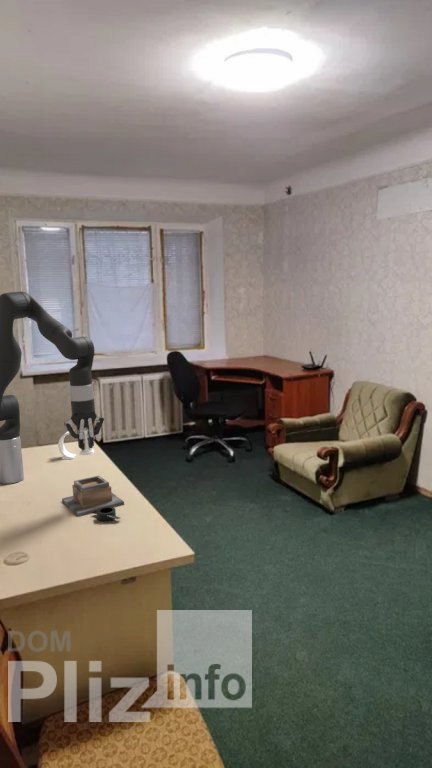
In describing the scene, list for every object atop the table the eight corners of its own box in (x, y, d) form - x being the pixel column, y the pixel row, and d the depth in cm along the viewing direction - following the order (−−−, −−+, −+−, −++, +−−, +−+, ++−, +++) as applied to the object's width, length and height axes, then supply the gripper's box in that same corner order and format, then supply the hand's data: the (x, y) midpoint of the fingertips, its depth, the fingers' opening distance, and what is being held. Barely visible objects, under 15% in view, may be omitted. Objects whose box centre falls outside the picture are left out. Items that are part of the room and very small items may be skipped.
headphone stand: (73, 459, 233) (70, 432, 231) (59, 459, 233) (57, 432, 231) (76, 456, 237) (74, 429, 235) (62, 456, 237) (60, 429, 235)
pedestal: (62, 501, 186) (60, 480, 184) (105, 490, 194) (104, 470, 193) (78, 516, 173) (76, 494, 171) (124, 504, 181) (122, 483, 180)
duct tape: (97, 527, 165) (97, 518, 164) (91, 515, 174) (90, 507, 173) (122, 522, 168) (121, 513, 167) (115, 511, 177) (114, 502, 176)
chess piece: (81, 456, 177) (78, 426, 175) (77, 452, 181) (75, 423, 179) (96, 453, 179) (93, 424, 177) (92, 450, 183) (90, 421, 181)
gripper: (98, 393, 184) (102, 442, 186) (57, 399, 176) (62, 450, 179) (106, 396, 177) (110, 447, 180) (65, 402, 170) (69, 455, 173)
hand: (86, 448), depth 180 cm, fingers closed on chess piece
